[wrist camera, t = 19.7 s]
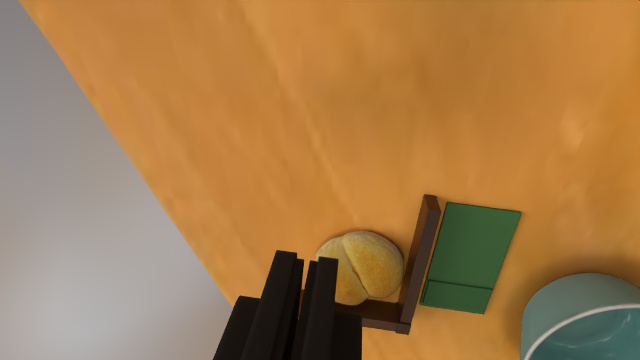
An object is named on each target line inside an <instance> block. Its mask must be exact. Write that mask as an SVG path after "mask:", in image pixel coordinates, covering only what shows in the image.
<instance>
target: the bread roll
mask: <svg viewBox="0 0 640 360" xmlns="http://www.w3.org/2000/svg"><path fill="white" fill-rule="evenodd" d="M319 256H322V257H329V258H336V259H339V263H338V273H337V284H336V294H335V301H336V302H338V303H341V304H346V305H358V304H360V303H362V302H363V301H365V300H366V299H367V298H368V297H369V296H373V297H378V298H383V297H387V296H389V295H391V294H393V293H394V292H395V291H396V290H397V289H398V288H399V286H400V284H401V282H402V280H403V274H404V261H403V258H402V255H401V253H400V251H399V250H398V249H397V247H396V246H395V245H394V244H392V243H391V242H390V241H389V240H387V239H386V238H384V237H382V236H380V235H378V234H376V233H373V232H368V231H354V232H349V233H347V234H345V235H343V236H341V237H336V238H333V239H331V240H329V241H328V242H326V243H325V244H324V245H323V246H322V247H321V248H320V249H319V250H318V252H317V256H316V261H318V258H319Z"/></svg>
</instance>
